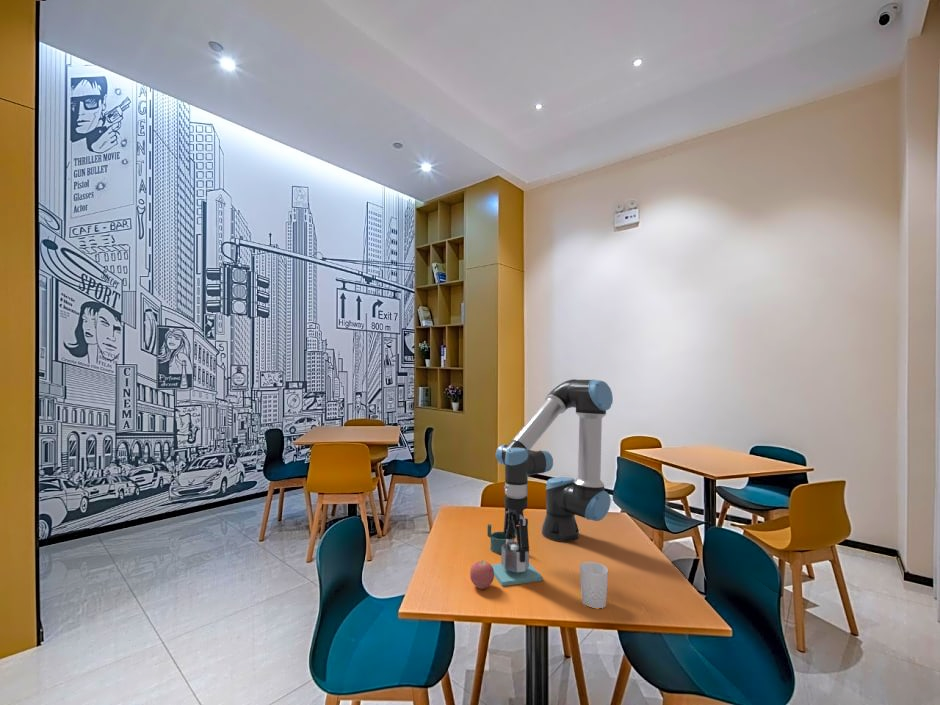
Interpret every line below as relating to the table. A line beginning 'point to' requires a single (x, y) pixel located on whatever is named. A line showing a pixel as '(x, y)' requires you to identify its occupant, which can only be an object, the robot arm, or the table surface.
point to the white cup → (594, 584)
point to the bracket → (497, 540)
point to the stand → (516, 574)
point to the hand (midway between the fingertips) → (515, 564)
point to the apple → (482, 574)
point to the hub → (511, 557)
